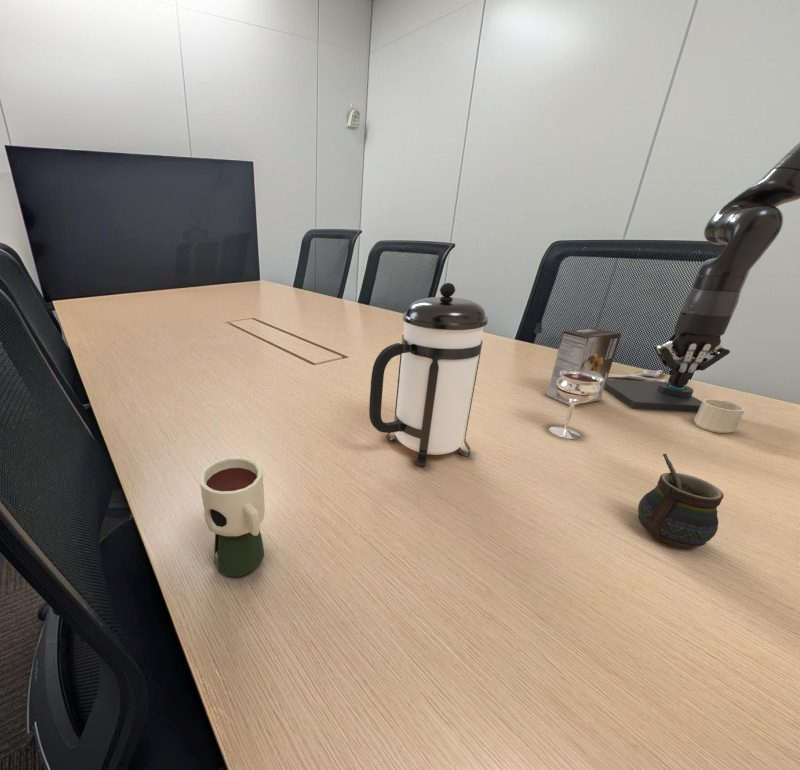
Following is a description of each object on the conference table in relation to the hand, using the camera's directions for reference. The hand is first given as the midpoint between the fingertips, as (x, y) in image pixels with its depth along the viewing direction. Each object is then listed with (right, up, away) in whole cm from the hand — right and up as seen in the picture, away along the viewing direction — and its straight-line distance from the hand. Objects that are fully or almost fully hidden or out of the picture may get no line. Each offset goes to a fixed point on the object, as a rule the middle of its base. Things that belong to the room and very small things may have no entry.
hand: (675, 386), depth 85 cm
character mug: (-95, -22, -38) cm, 105 cm away
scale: (-4, -3, +2) cm, 5 cm away
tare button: (0, -1, 0) cm, 1 cm away
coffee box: (-21, -3, +3) cm, 22 cm away
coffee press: (-64, -12, -16) cm, 67 cm away
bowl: (-4, -8, -11) cm, 15 cm away
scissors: (+1, +2, +13) cm, 13 cm away
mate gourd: (-39, -20, -36) cm, 57 cm away
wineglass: (-34, -9, -11) cm, 37 cm away
